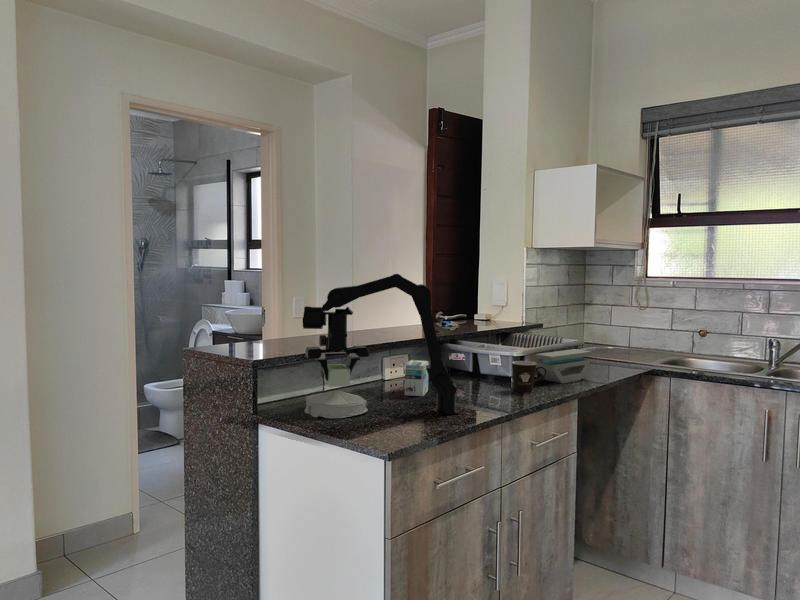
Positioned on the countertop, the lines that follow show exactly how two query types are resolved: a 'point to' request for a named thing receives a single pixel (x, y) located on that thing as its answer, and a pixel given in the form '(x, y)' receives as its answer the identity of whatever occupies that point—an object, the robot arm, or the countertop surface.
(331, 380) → the crate
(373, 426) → the countertop surface
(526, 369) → the coffee mug
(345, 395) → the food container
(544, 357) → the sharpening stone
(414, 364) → the light bulb box
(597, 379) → the countertop surface
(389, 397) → the countertop surface
